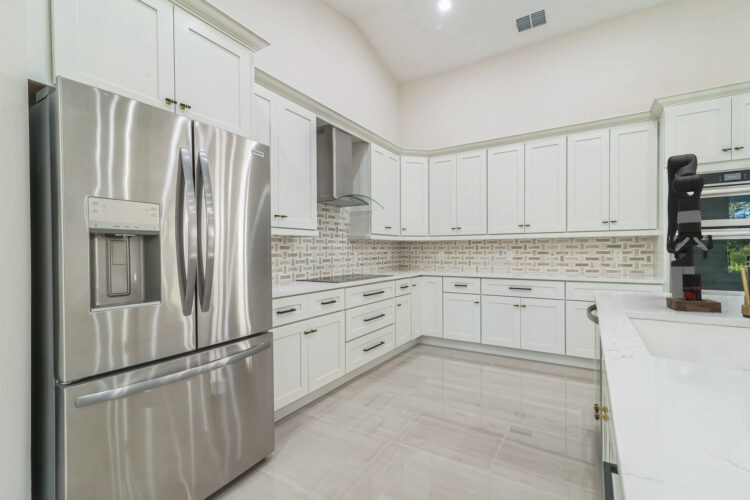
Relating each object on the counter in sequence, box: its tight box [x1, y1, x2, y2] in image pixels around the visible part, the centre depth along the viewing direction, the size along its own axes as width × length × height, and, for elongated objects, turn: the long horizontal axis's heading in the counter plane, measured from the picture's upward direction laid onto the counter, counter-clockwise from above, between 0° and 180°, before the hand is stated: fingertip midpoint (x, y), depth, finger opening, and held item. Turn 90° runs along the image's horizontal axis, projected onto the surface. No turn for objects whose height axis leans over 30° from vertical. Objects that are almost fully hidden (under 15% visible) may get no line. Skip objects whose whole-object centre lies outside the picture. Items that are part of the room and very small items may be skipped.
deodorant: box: [682, 273, 703, 301], centre depth 148 cm, size 6×6×15 cm
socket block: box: [665, 297, 722, 314], centre depth 148 cm, size 14×14×4 cm
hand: (690, 259), depth 148 cm, fingers open, 8 cm apart
